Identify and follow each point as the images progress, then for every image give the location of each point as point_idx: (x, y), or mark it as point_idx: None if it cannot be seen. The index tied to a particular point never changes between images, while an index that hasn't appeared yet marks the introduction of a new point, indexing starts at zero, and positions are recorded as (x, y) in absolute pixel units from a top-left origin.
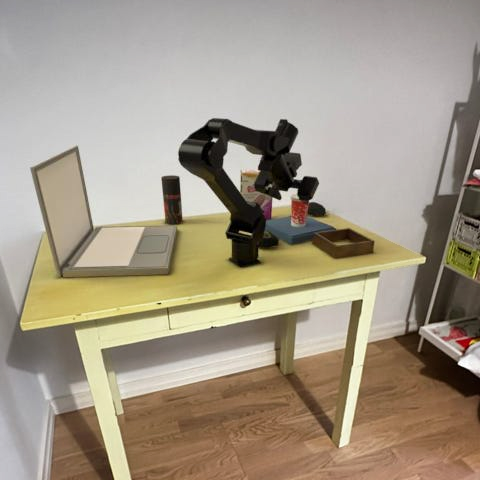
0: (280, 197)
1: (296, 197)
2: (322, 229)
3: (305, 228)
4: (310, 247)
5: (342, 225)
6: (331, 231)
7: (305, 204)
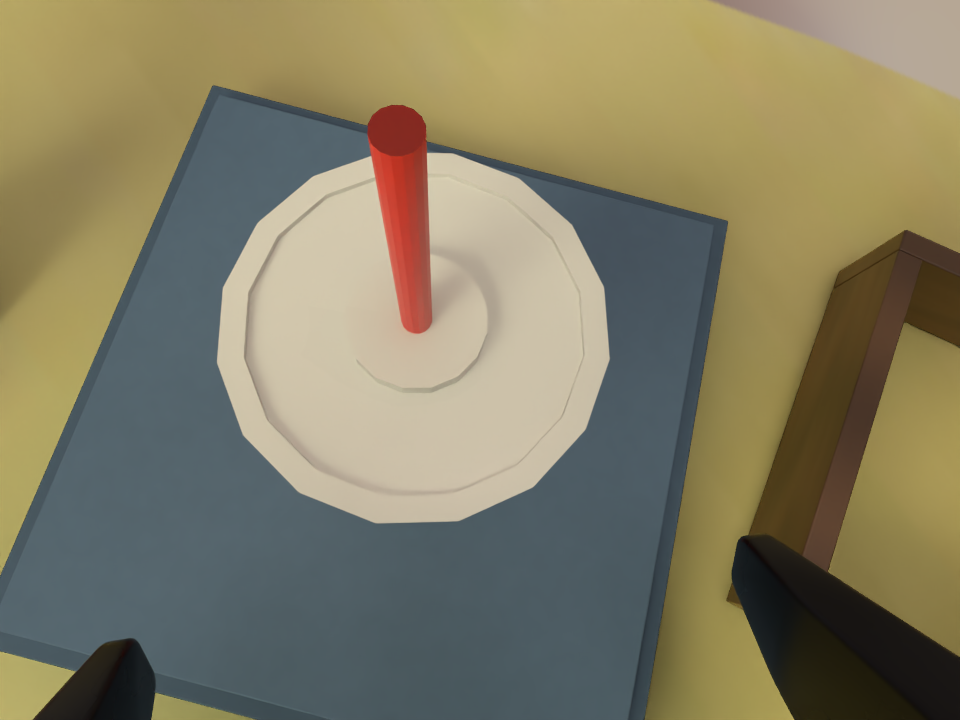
0: (127, 704)
1: (382, 413)
2: (690, 363)
3: (556, 464)
4: (778, 700)
5: (592, 15)
6: (867, 435)
7: (755, 625)
